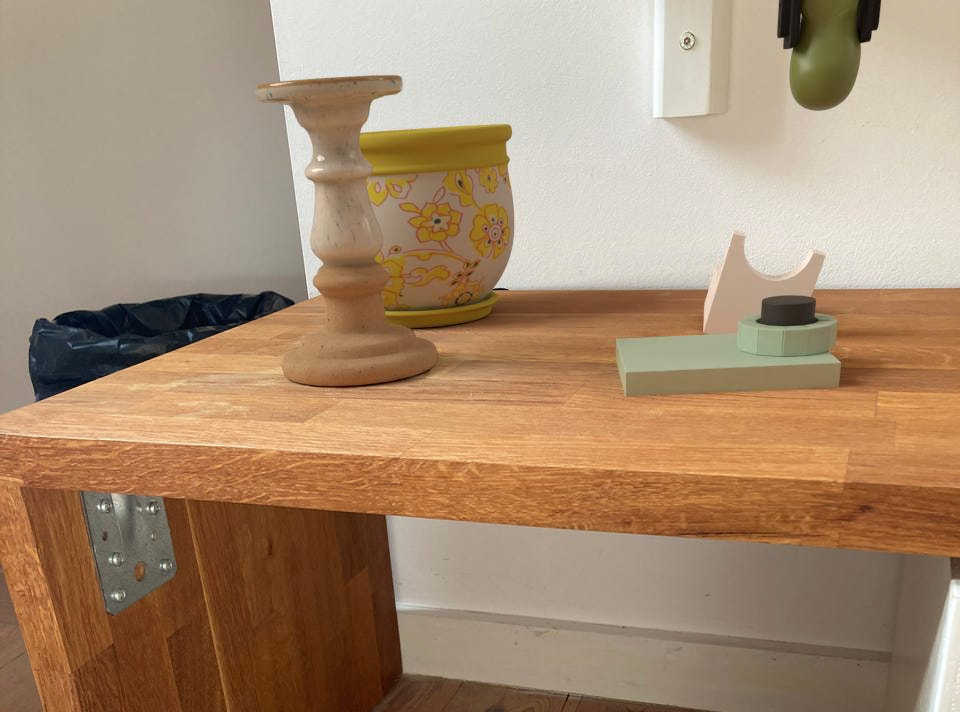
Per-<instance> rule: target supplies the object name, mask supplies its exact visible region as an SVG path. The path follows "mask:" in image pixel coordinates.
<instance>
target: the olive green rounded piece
mask: <svg viewBox="0 0 960 712" xmlns="http://www.w3.org/2000/svg"><path fill="white" fill-rule="evenodd" d="M858 1H859V0H802V5H801V20H800V35H799V45H798V46H796V47H795V48H792V49H791V50H792V51H791V55H790V60H789V71H788V81H789V82H788V83H789V88H790V89H789V90H790V93H791V96H792V97H793V100H794V101H795V102H796V103H797V104H798V105H799V106H800V107H801V108H804V109H806V110H809V111H814V112H822V111H828V110H831V109H833V108H836V107H837V106H840V105H841V104H842V103H843V102H844V101H846V99H847V98H848V97H849V96H850V94H851V92H852V91H853V89H854V86H855V83H856V81H857V77H858V74H859V71H860V64H861V57H862V43H860V40H859V34H858V31H857V20H858V10H859V5H858Z"/></svg>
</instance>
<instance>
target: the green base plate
mask: <svg viewBox="0 0 960 712" xmlns="http://www.w3.org/2000/svg"><path fill="white" fill-rule="evenodd" d="M760 321H761V314H755V315H749V316H746V317H744V318H742V319H740V320H738V327H737V333H728V334H707V333H706V334H691V335H689V334H688V335H671V336H669V335H668V336H666V335H665V336H645V337H628V338H627V337H626V338H625V337H624V338H615V364H616V367H617V370H618V375H619V378H620V382H621V386H622V390H623V394H624V396H625V397H643V396H646V397H647V396H665V395H666V396H667V395H689V394H691V395H692V394H710V393H711V394H712V393H716V394H717V393H734V392H735V393H736V392H757V391H759V392H760V391H761V392H763V391H780V390H781V391H783V390H784V391H785V390H804V389H805V390H806V389H827V388H828V389H829V388H839V387H840V379H841V369H842V361H840V360H839V359H838V358H836V356H834V355H833V354H832V353H831V352H830V351H831V350H833V349H834V348H835V347H836V346H837V336H838V335H837V334H838V325H839V320H838V319H837V318H836V317H834V316H833V315H831V314H825V313H818V312H815V320H814V324H809V325H803V326H769V325H764V324H760Z"/></svg>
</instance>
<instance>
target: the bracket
mask: <svg viewBox="0 0 960 712" xmlns="http://www.w3.org/2000/svg"><path fill="white" fill-rule="evenodd" d="M746 236H747V235H746V232H744V231H740V230H736V229H732V232H731V235H730V238H729V241H728V245H727V248H726V250H725V254H724V258H723V261H722V263H721V264H720V263H715V267H714V271H713V273H712V274H713V275H712V277H711V280H710V284H709V286H708V289H707V294H706V297H705V300H704V303H703V327H702V329H703V331H702V332H703V334H706V335H707V334H728V333H737V327H738V320H740V319H742V318H744V317H746V316H749V315H755V314H761V306H762V300H763V299H765V298H768V297H773V296H784V295H799V296H809V297H812V296H813V293H814V290H815V288H816V284H817V283H818V279H819V276H820V273H821V271H822V267H823V264H824V261H825V259H826V254H825V253H824V252H823V250H818V249H815V248H809V251H808V253H807V255H806V257H805V258H804V260H803V261H802V262H801V263H800V264H799V265H798V266H797V267H795V268H794V269H792V270H791V271H789V272H786V273H783V274H777V275H775V274H774V275H770V274H765V273H763V272H761V271H758V270H757V269H756V268H755V267H753V266H752V265H751V264H750V262H749V261H748V259H747V257H746V254H745V243H746V238H747V237H746Z"/></svg>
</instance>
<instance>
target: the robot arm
mask: <svg viewBox="0 0 960 712" xmlns="http://www.w3.org/2000/svg"><path fill="white" fill-rule="evenodd" d="M801 5H802V0H778V10H777V11H778V12H777V13H778V14H777V27H776V29H777V30H776V37H777V39H783V40H782V41H783V42H782V48H783V50H792V49H793V48H795V47H796V46H798V45H799V35H800V22H801ZM858 5H859V10H858V20H857V31H858V34H859V40H860V43H861V44H865V43H869V42H871V40H872V35H873V31H874V32H875V31H877V30H878V29H879V25H880V17H881V8H882V7H881V6H882V0H859V1H858Z"/></svg>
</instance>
